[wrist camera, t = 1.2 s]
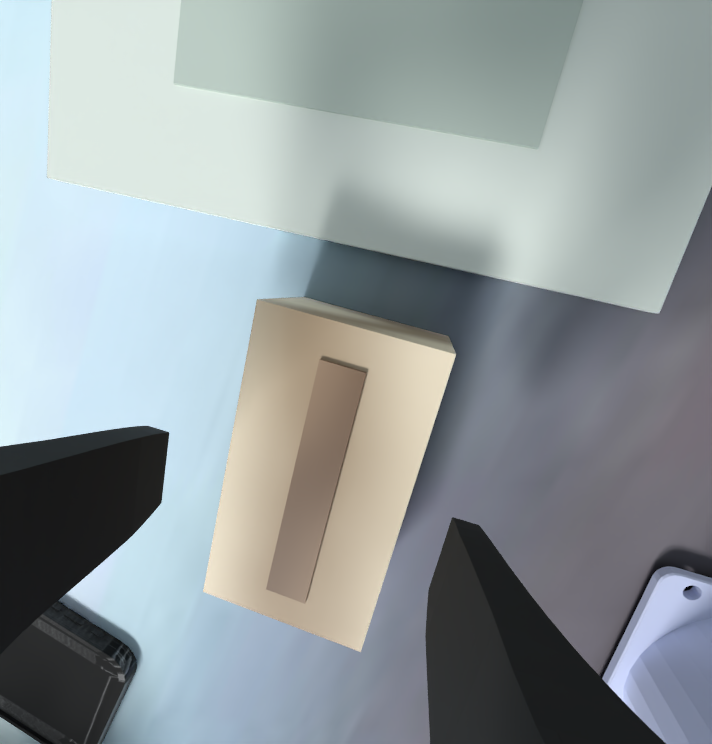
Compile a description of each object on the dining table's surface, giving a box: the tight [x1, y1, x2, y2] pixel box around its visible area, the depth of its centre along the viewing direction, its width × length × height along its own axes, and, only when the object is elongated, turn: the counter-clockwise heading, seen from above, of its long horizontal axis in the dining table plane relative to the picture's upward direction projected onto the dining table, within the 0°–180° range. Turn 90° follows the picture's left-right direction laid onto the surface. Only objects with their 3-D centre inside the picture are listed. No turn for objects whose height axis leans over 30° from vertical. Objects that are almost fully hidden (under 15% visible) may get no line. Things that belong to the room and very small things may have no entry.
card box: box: [203, 297, 456, 652], centre depth 12 cm, size 5×9×4 cm, turn 166°
